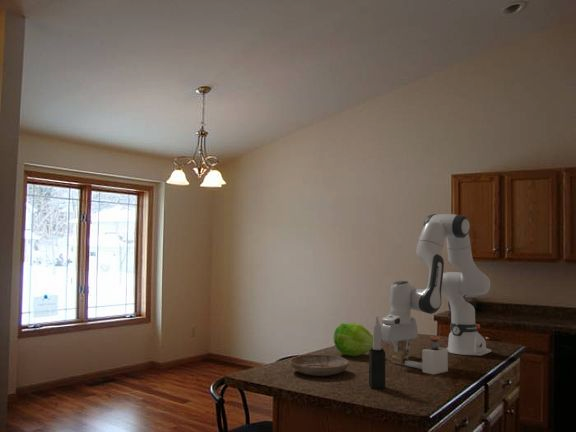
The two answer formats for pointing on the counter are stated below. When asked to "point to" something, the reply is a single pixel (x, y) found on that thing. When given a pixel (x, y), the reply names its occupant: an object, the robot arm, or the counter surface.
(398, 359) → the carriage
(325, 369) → the ceramic bowl
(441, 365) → the housing
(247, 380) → the counter surface
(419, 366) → the rail
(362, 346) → the lettuce
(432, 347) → the plunger
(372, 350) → the candle
